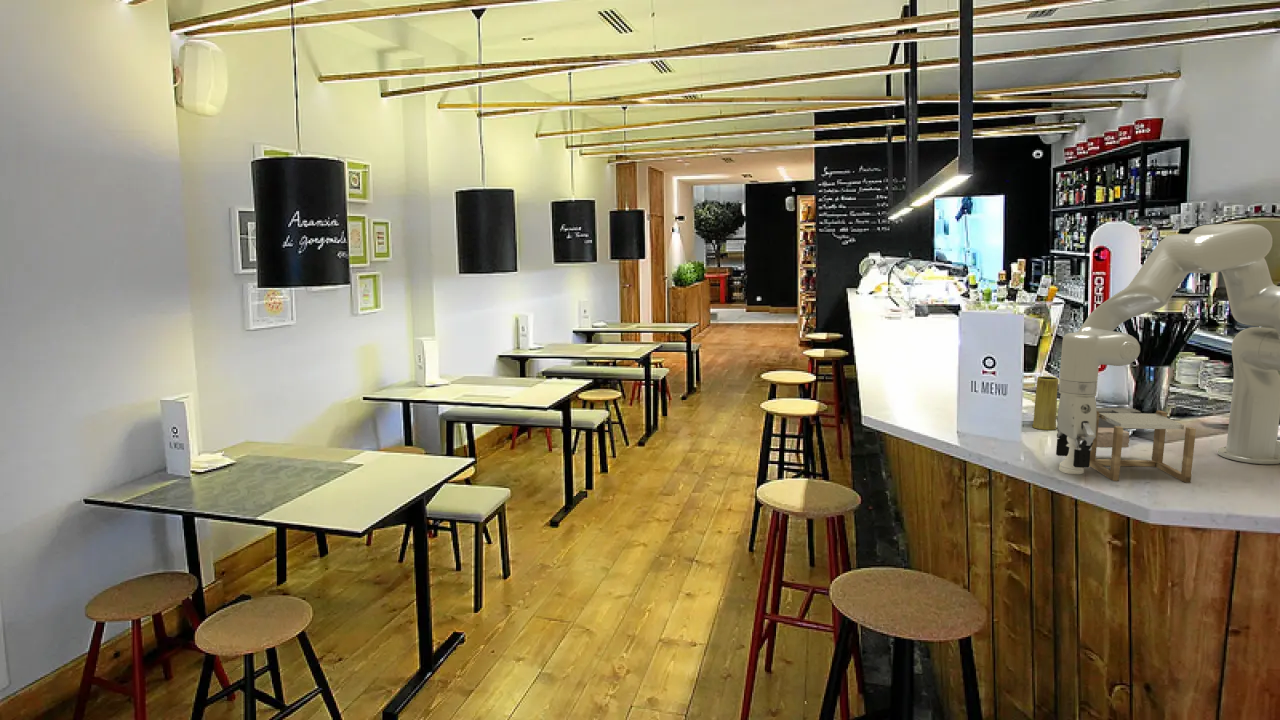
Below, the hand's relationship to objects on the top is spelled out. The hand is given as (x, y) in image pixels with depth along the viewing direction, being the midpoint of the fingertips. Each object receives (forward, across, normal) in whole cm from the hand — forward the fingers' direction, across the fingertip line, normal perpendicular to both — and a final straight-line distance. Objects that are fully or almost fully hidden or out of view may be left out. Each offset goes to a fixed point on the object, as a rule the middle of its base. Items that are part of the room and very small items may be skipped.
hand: (1072, 461), depth 183 cm
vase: (+3, +43, -10) cm, 44 cm away
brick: (+3, +31, -19) cm, 36 cm away
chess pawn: (+3, 0, 0) cm, 3 cm away
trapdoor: (-6, +5, -14) cm, 16 cm away
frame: (+2, 0, -14) cm, 14 cm away
